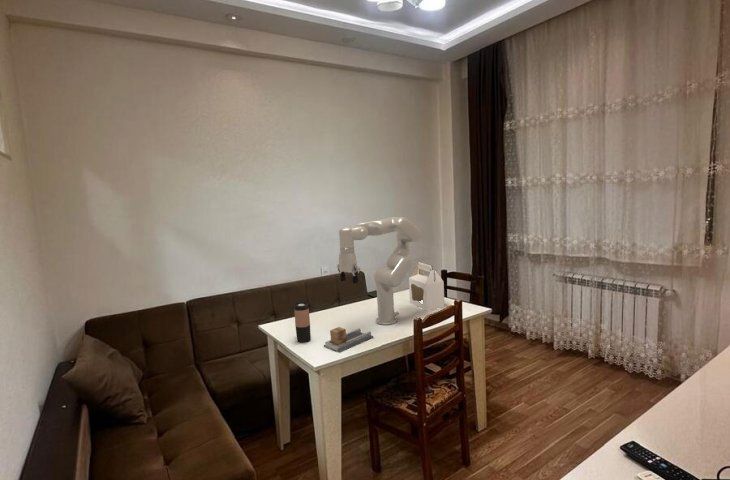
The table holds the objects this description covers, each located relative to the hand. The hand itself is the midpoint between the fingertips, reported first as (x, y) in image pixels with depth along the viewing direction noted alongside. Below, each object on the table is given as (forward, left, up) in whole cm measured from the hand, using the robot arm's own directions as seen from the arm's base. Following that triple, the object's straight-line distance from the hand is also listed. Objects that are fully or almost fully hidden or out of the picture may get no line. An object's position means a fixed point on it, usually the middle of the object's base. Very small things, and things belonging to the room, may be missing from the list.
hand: (349, 281), depth 210 cm
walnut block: (+18, +9, -28) cm, 34 cm away
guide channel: (+11, +9, -28) cm, 32 cm away
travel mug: (+24, -12, -28) cm, 39 cm away
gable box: (-63, +5, -29) cm, 69 cm away
